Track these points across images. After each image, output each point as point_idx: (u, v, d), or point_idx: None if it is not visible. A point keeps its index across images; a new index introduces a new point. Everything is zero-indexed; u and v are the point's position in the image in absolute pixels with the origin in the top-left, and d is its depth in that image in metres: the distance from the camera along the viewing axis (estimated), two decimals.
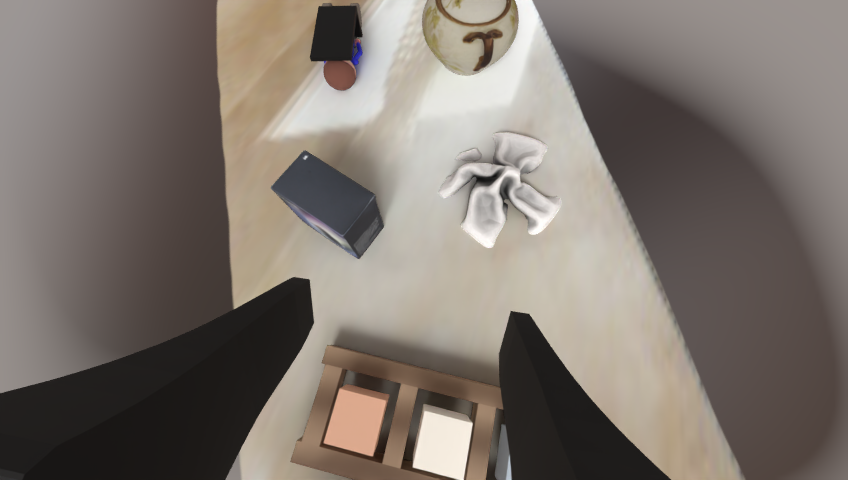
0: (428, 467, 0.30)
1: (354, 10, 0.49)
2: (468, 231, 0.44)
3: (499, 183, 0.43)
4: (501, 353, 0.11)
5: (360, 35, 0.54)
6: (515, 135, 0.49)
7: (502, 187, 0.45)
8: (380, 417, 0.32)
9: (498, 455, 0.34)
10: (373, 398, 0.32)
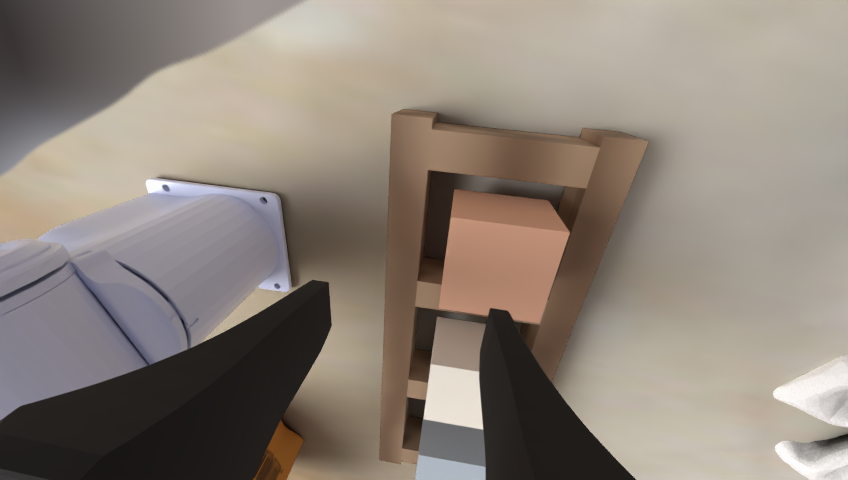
0: (434, 383, 0.18)
1: None
2: (833, 371, 0.22)
3: None
4: (481, 350, 0.11)
5: None
6: None
7: None
8: None
9: None
10: (544, 301, 0.15)
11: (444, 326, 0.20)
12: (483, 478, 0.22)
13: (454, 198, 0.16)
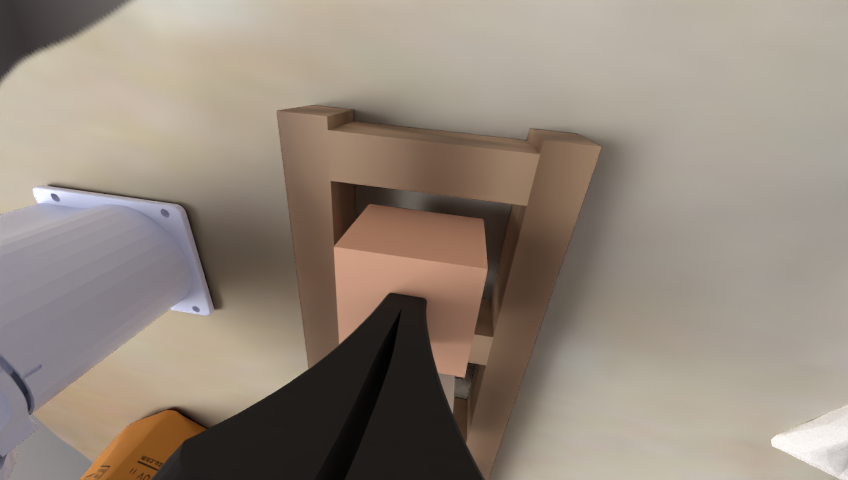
0: None
1: None
2: (844, 421, 0.18)
3: None
4: None
5: None
6: None
7: None
8: None
9: None
10: (467, 352, 0.11)
11: None
12: None
13: (359, 217, 0.12)
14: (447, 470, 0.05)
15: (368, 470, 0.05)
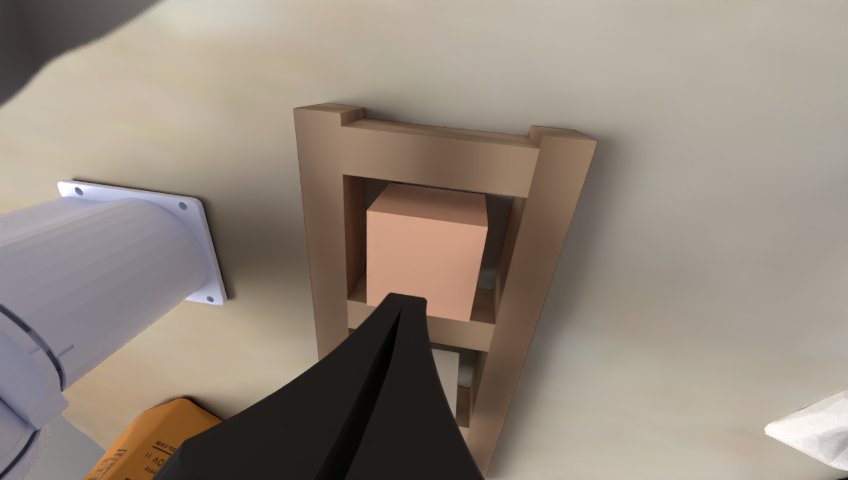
0: None
1: None
2: (834, 409, 0.19)
3: None
4: None
5: None
6: None
7: None
8: (436, 313, 0.15)
9: None
10: (471, 299, 0.14)
11: None
12: None
13: (383, 191, 0.15)
14: (447, 470, 0.05)
15: (368, 470, 0.05)
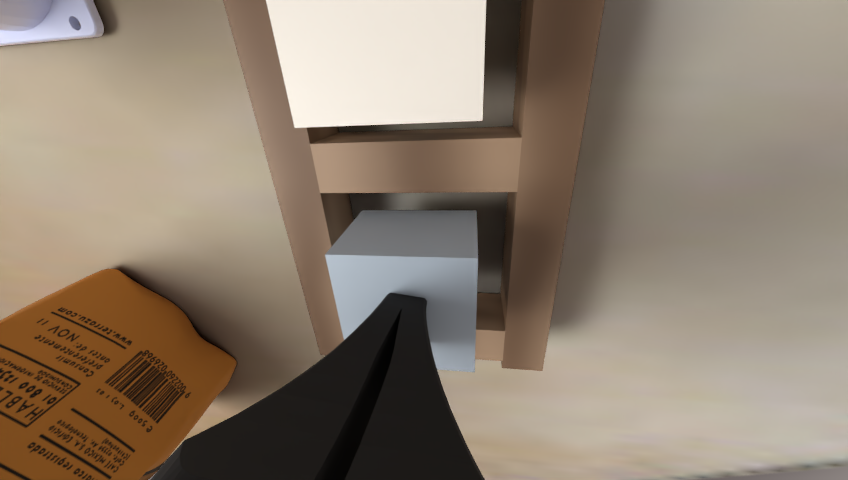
0: None
1: None
2: None
3: None
4: None
5: None
6: None
7: None
8: None
9: (404, 214, 0.13)
10: None
11: None
12: (469, 295, 0.10)
13: None
14: (447, 470, 0.05)
15: (368, 470, 0.05)
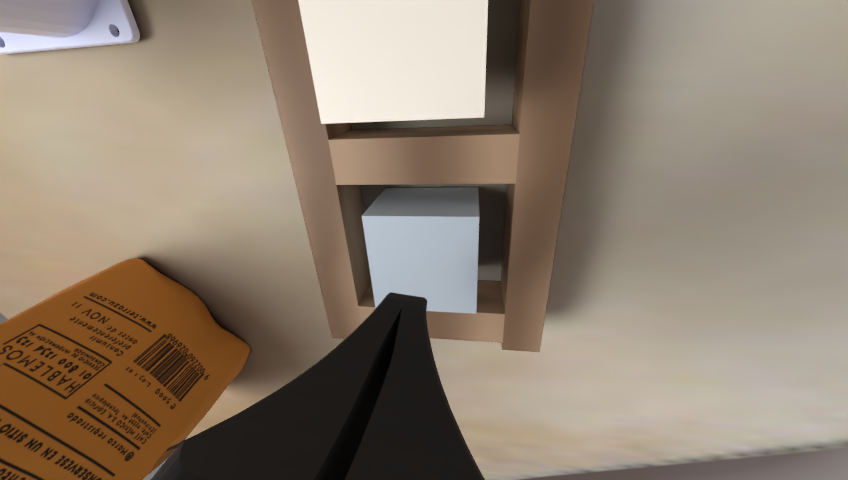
0: None
1: None
2: None
3: None
4: None
5: None
6: None
7: None
8: None
9: (420, 190, 0.16)
10: None
11: None
12: (472, 247, 0.13)
13: None
14: (447, 470, 0.05)
15: (368, 470, 0.05)
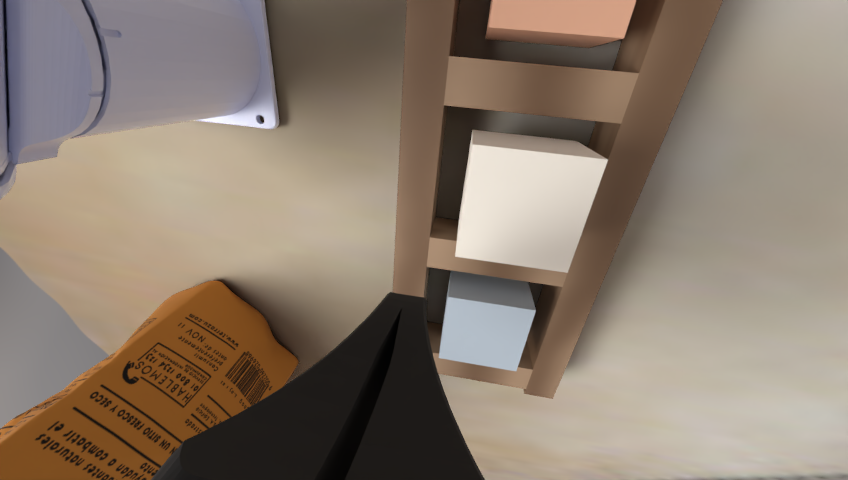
0: (474, 183, 0.13)
1: None
2: None
3: None
4: None
5: None
6: None
7: None
8: (582, 28, 0.12)
9: None
10: None
11: (484, 133, 0.15)
12: (525, 328, 0.18)
13: None
14: (447, 470, 0.05)
15: (368, 470, 0.05)
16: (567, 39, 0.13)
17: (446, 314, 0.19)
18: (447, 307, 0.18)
